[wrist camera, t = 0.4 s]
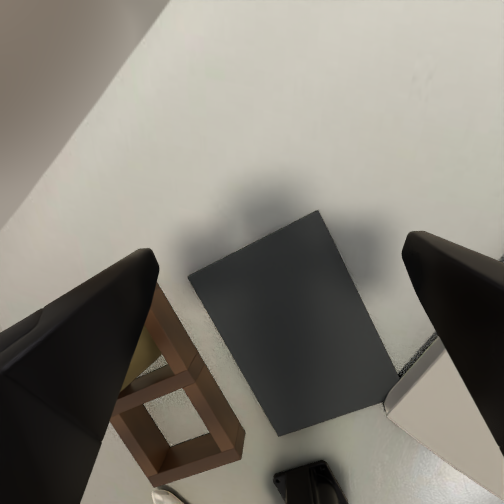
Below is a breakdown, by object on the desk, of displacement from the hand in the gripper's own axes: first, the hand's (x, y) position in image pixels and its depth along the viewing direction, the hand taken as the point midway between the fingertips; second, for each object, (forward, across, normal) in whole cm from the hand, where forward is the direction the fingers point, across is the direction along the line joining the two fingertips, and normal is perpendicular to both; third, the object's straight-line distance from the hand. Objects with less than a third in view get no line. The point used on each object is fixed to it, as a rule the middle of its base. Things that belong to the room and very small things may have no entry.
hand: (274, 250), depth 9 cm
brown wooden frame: (+6, +14, +21) cm, 26 cm away
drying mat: (+8, -2, +16) cm, 18 cm away
